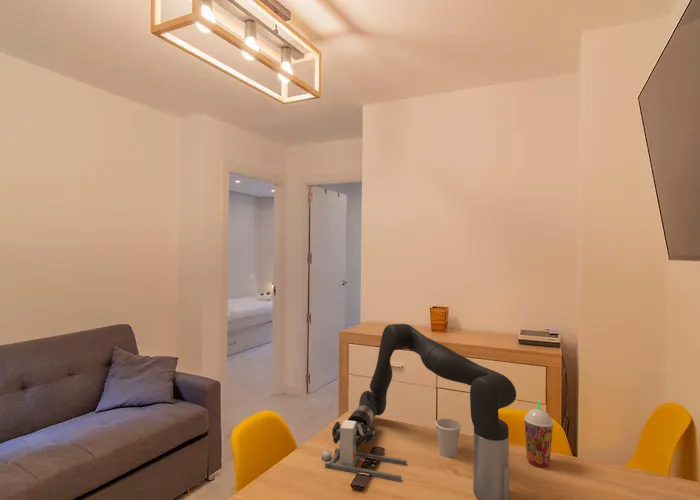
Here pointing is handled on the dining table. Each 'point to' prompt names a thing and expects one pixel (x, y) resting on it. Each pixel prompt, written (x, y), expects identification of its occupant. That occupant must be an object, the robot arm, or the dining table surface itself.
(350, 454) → the skincare box
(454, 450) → the dixie cup
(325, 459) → the guide channel
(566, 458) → the dining table surface
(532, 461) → the smoothie
